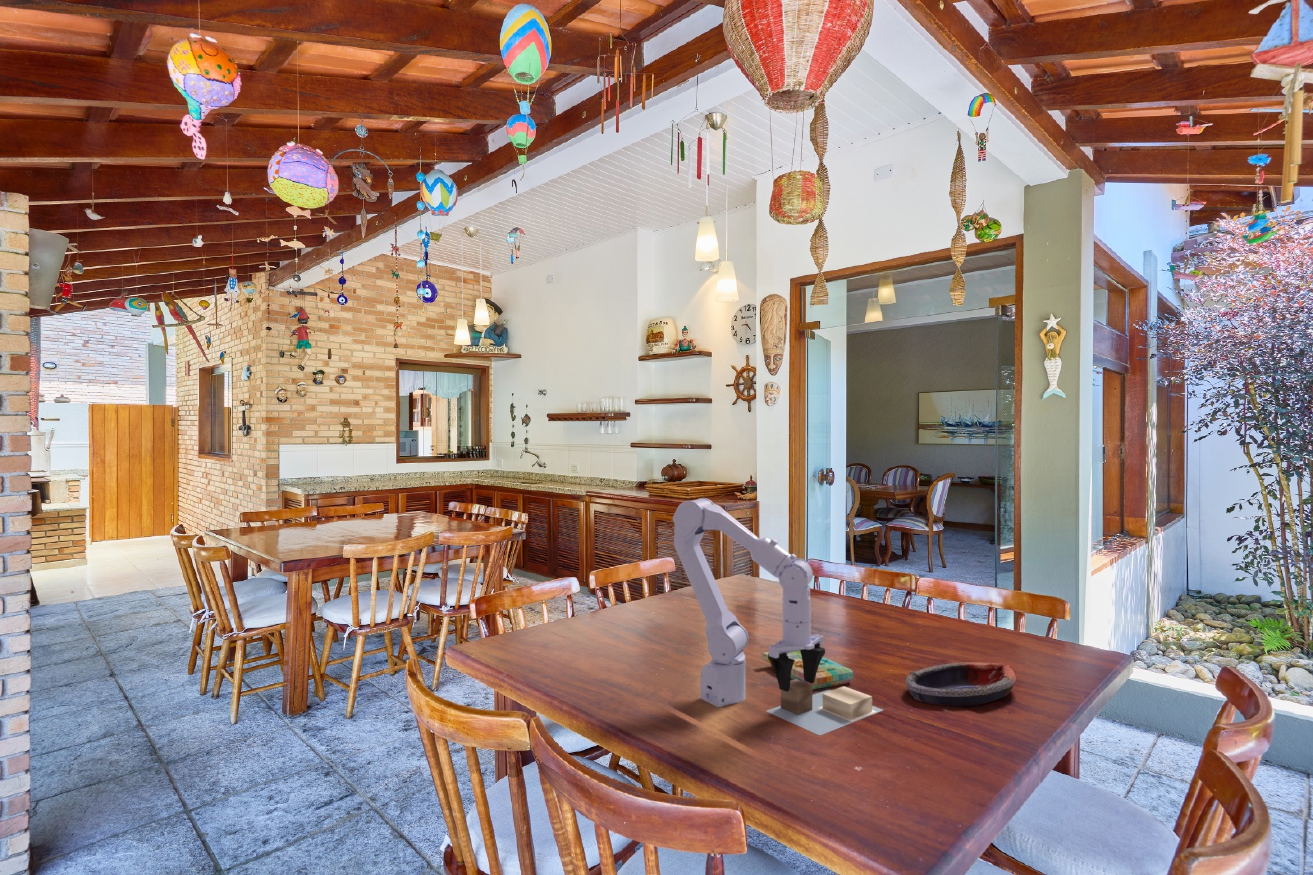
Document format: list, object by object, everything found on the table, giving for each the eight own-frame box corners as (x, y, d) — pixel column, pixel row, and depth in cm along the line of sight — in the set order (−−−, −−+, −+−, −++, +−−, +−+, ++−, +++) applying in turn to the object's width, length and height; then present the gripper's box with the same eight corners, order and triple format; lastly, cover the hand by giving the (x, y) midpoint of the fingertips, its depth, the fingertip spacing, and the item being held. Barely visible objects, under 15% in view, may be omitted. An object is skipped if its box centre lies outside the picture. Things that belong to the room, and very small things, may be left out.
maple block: (850, 719, 130) (850, 704, 130) (822, 708, 135) (822, 693, 135) (872, 711, 134) (872, 696, 134) (844, 700, 139) (843, 686, 140)
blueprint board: (819, 739, 123) (819, 735, 123) (765, 714, 134) (765, 710, 134) (883, 713, 135) (883, 709, 135) (828, 693, 146) (828, 689, 146)
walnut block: (797, 715, 132) (797, 690, 132) (780, 707, 136) (780, 683, 136) (812, 709, 135) (812, 685, 135) (795, 702, 138) (795, 678, 138)
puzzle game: (811, 675, 145) (761, 649, 163) (811, 696, 145) (761, 668, 163) (853, 667, 149) (800, 643, 168) (853, 688, 149) (800, 661, 168)
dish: (885, 692, 147) (885, 670, 147) (983, 674, 159) (983, 653, 159) (940, 719, 132) (940, 695, 132) (1044, 696, 145) (1044, 674, 145)
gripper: (787, 630, 128) (787, 700, 128) (834, 618, 136) (835, 683, 136) (761, 622, 133) (761, 689, 133) (808, 611, 142) (808, 674, 142)
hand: (797, 685), depth 135 cm, fingers open, 7 cm apart
